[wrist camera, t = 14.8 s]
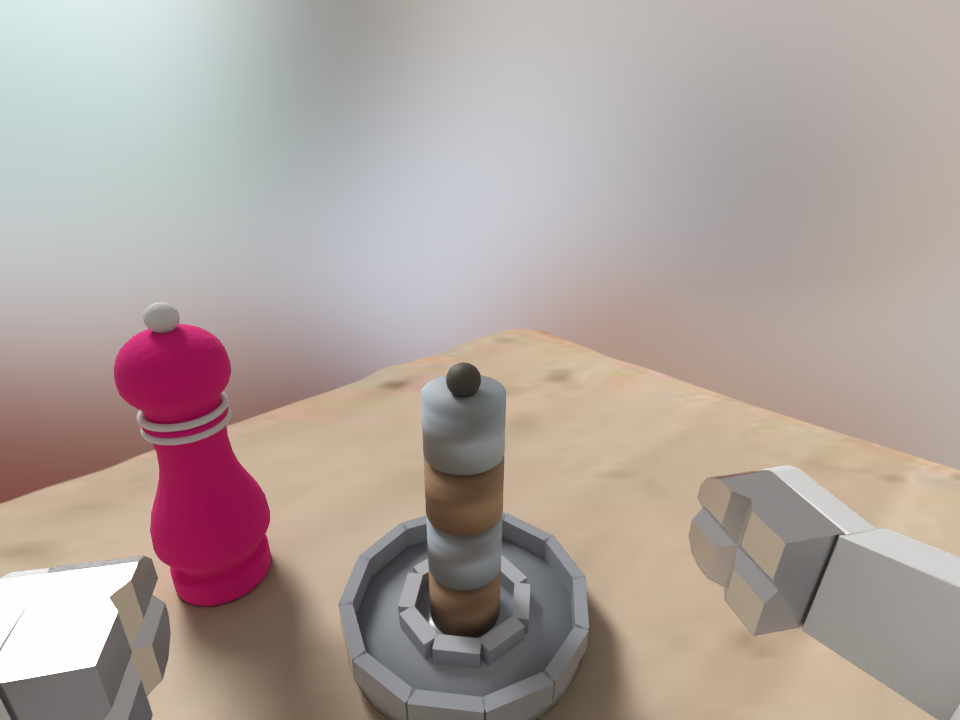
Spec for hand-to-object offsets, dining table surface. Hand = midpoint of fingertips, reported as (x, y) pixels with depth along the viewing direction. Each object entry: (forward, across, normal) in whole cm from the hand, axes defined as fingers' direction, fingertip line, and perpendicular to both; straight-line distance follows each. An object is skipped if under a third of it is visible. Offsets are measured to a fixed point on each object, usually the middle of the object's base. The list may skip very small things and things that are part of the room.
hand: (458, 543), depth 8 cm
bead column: (+18, -5, +23) cm, 30 cm away
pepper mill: (+26, +11, +25) cm, 38 cm away
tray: (+18, -5, +24) cm, 31 cm away
